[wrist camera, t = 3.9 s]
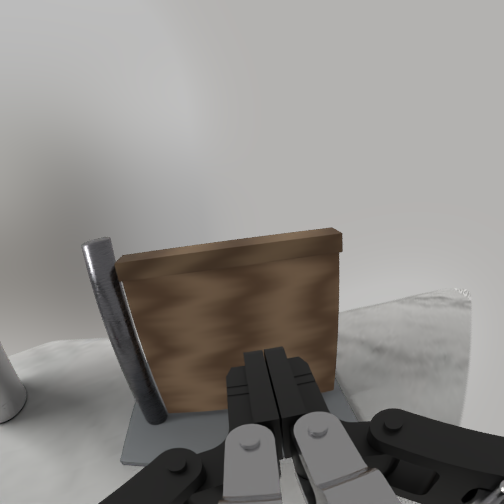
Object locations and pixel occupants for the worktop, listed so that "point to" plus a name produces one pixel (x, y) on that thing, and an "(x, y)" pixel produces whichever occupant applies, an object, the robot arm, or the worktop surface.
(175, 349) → the gate
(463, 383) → the worktop surface
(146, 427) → the mat
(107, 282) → the hinge post
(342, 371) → the worktop surface
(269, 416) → the robot arm
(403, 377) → the worktop surface
